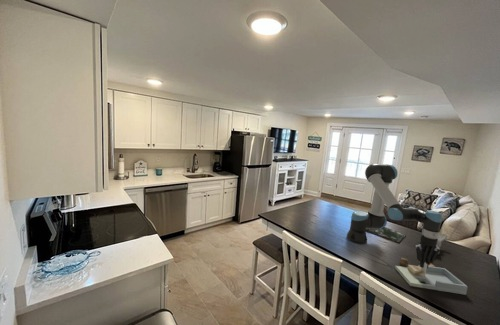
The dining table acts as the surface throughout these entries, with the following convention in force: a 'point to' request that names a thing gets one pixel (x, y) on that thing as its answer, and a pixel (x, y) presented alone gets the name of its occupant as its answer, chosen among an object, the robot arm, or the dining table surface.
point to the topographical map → (387, 234)
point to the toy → (441, 240)
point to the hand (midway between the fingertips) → (422, 272)
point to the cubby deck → (434, 280)
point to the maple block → (416, 270)
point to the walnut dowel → (403, 262)
